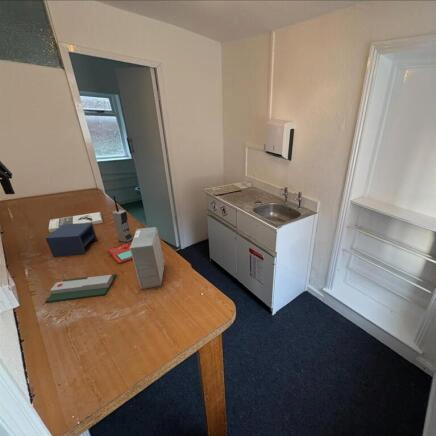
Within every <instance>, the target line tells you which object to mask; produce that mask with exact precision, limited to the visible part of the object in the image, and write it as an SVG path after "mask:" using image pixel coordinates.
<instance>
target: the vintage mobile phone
mask: <svg viewBox="0 0 436 436" xmlns="http://www.w3.org/2000/svg"><path fill="white" fill-rule="evenodd" d="M112 198H113V201H114V206H115V210H113V211H112V212H111V216H112V219H113V224H114V226H115V230H116V234H117V238H118V241H119V242H123V243H128V242H129V243H130V242H131V241H133V238H134V236H133V235H132V234H131V231H130V227H129V223H128V214H127V213H128V212H127V210H124V209H123V210H122V209H119V206H118V203H117V200H116V195H113V197H112Z"/></svg>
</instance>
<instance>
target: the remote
mask: <svg viewBox="0 0 436 436" xmlns="http://www.w3.org/2000/svg"><path fill="white" fill-rule="evenodd" d="M104 275H105V276H103V275H95V276H96V277H93V276H87V277H88V278H87V279H82V280H73V281H64V282H62V281H57V282H56V283H55V284H54V285H53V286H52V287H51V288H50V289H49V293H50V295H51V294H57V293H65V292H73V291H81V290H92V289H100V288H108V287H109V286H110V284H111V282H112V280H113V277H112V274H104ZM111 285H112V284H111ZM110 287H111V286H110Z"/></svg>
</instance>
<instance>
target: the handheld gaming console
mask: <svg viewBox="0 0 436 436" xmlns="http://www.w3.org/2000/svg"><path fill="white" fill-rule="evenodd" d="M130 246H131V244H129V243H128V242H126V243H123V244H121V245H118V246H114V247H112V248H108V249H107V253H108V254H109V256H111V257H112V259H114V260H115V262H116V263H117V264H118V265H121V264H123V263H127V262H129V261H133V259H132V255H131V251H130Z"/></svg>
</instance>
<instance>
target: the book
mask: <svg viewBox="0 0 436 436" xmlns="http://www.w3.org/2000/svg"><path fill="white" fill-rule="evenodd" d="M103 220H104V219H103V216H102V213H101V211H97V212H92V213H85V214H78V215H73V216H72V215H71V216H65V217H59V218H53V219H52V218H51V219H50V220H49V224H48V229H47V230H48V232H49V233H52V232H54V231H55V230H56V229H58V228H59V227H60V226H61V225H63V224H77V223H92V224H93V226H94V225H100V224H103V223H104V221H103Z"/></svg>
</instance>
